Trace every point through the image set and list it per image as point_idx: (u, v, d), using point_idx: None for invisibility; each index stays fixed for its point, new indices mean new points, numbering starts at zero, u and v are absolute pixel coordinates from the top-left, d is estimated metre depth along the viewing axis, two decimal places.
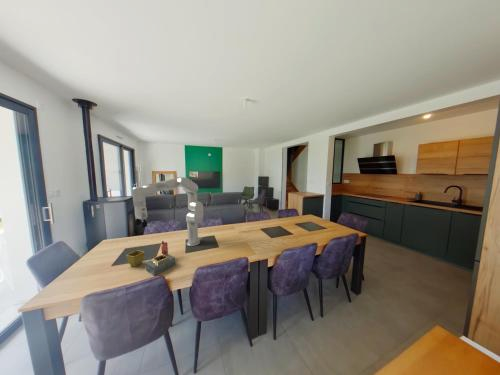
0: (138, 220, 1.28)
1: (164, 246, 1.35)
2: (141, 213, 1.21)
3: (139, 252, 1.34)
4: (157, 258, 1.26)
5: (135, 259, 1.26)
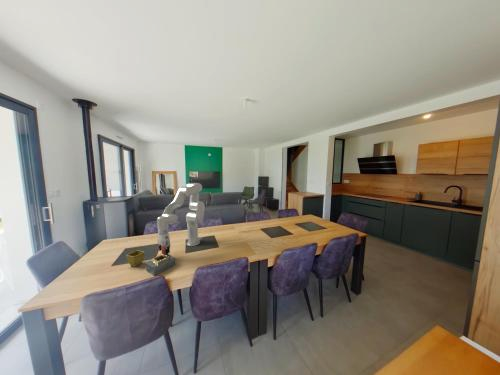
0: None
1: (164, 246, 1.35)
2: (165, 241, 1.33)
3: (139, 252, 1.34)
4: (157, 258, 1.26)
5: (135, 259, 1.26)
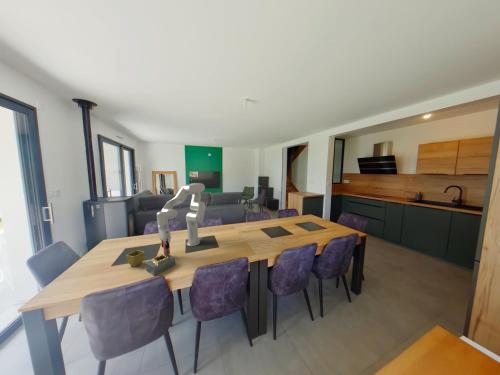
0: None
1: None
2: (165, 236, 1.33)
3: (139, 252, 1.34)
4: (157, 258, 1.26)
5: (135, 259, 1.26)
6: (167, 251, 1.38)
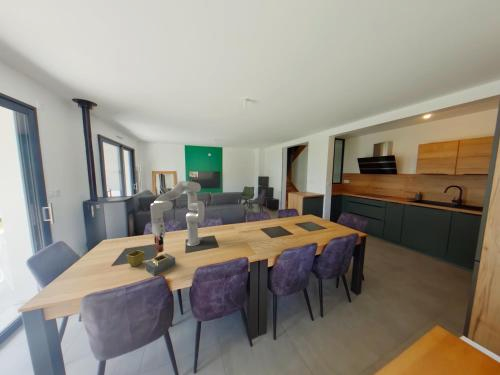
0: None
1: None
2: (159, 230, 1.19)
3: (139, 252, 1.34)
4: (157, 258, 1.26)
5: (135, 259, 1.26)
6: (160, 248, 1.23)
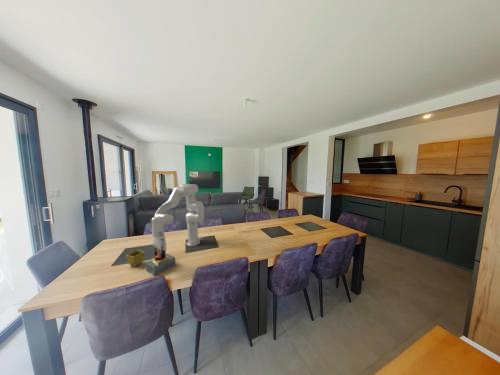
0: None
1: (160, 251, 1.23)
2: (160, 244, 1.20)
3: (139, 252, 1.34)
4: (157, 258, 1.26)
5: (135, 259, 1.26)
6: None
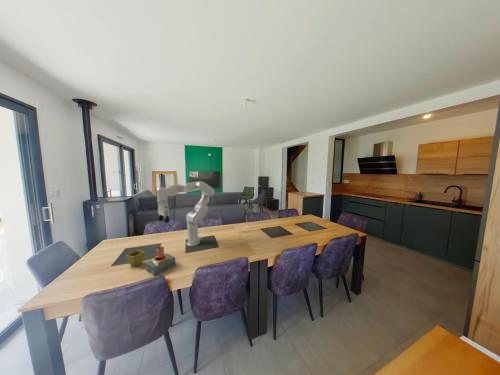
0: (161, 216, 1.48)
1: (160, 251, 1.23)
2: (164, 210, 1.41)
3: (139, 252, 1.34)
4: None
5: (135, 259, 1.26)
6: None
